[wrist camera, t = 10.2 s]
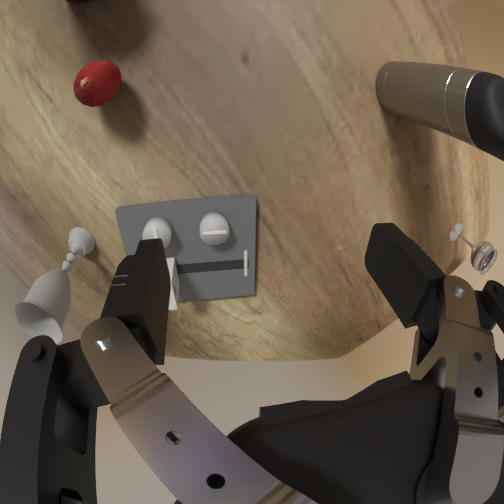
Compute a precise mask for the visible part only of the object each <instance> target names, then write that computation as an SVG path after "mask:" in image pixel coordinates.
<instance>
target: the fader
mask: <svg viewBox="0 0 504 504" xmlns="http://www.w3.org/2000/svg"><path fill="white" fill-rule="evenodd" d="M166 260H167V264H168V269H169V273H170V280H171V292H170V300H169V310H175V309H178V295H179V278H178V273H177V268H176V263H175V258H166Z"/></svg>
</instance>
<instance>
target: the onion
mask: <svg viewBox="0 0 504 504" xmlns="http://www.w3.org/2000/svg"><path fill="white" fill-rule="evenodd" d="M120 85H121V73H120V70H119V68H118V67H117V66H116V65H115V64H113V63H112V62H110V61H105V60H100V61H95V62H91V63H90V64H88V65H86V66H85V67H83V68H82V69H81V71H80V72H79V73H78V74H77V77H76V79H75V82H74V93H75V96H76V98H77V99H78V100H79V101H80V102H81V103H82V104H83V105H87V106H90V107H95V106H100V105H104V104H105V103H107V102H108V101H110V100H111V99H112V98H113V97H114V95H115V94H116V93H117V92H118V90H119V87H120Z"/></svg>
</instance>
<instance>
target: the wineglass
mask: <svg viewBox="0 0 504 504" xmlns="http://www.w3.org/2000/svg"><path fill="white" fill-rule="evenodd" d="M462 230H463V224H462V223H458V224H456V225H455V226H454V227H453V229H452V231H451V233H450V240H451V241H455V240H456V239H458V238H459V236H460V237H461V238H462V239H463V240H464V241H465V242H466V243H467V244H468V245H469V246H470V247H471V248H472V252H471V264H472V266H473V267H474V269H476V270H477V271H479V272H480V274H481V275H483V274H485V273H486V272H487V271H488V270H489V269H490V268H491V267H492V265H493V264H494V262H495V260H496V257H497V250H496V249H494V248H493V246H492V245H491V244H490V243H489V242H486V241H483V242H479V243H477V244H476V245H473V244H472V243H470V242H469V241H468V240H467V239H466V238H464V237H463V236H462V235H461V233H462Z"/></svg>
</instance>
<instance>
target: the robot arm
mask: <svg viewBox="0 0 504 504" xmlns="http://www.w3.org/2000/svg"><path fill="white" fill-rule="evenodd" d="M376 91H377V96H378V98H379V101H380V103H381V104H382V106H383V107H384V108H385V109H386V111H388V112H389V113H390V114H392V115H394V116H397V117H401V118H404V119H407V120H410V121H412V122H415V123H418V124H421V125H424V126H427V127H429V128H432V129H435V130H437V131H440V132H442V133H445V134H447V135H450V136H452V137H454V138H457V139H459V140H461V141H464V142H466V143H468V144H470V145H472V146H474V147H477V148H479V149H480V150H483V151H485V152H487V153H489V154H491V155H493V156H495V157H497V158H499V159H501V160H503V161H504V78H502V77H501V76H498V75H495V74H491V73H487V72H482V71H478V70H473V69H467V68H460V67H454V66H447V65H439V64H429V63H417V62H398V61H394V62H389V63H387V64H385V65H384V66H383V67H382V68H381V69H380V71H379V73H378V75H377V79H376ZM365 266H366V269H367V271H368V272H369V274H370V275H371V277H372V278H373V280H374V281H375V283H376V284H377V285H378V287H379V288H380V290H381V291H382V293H383V294H384V296H385V297H386V299H387V300H388V302H389V304H390V305H391V307H392V308H393V310H394V311H395V313H396V314H397V316H398V318H399V319H400V321H401V322H402V324H403V326H404V327H405V328H409V327H412V326H416V325H417V326H418V329H417V331H416V333H415V339H414V348H413V355H412V362H411V368H410V373H409V374H408V372H407V371H404V372H402V373H399V374H396V375H393V376H390V377H388V378H385V379H381V380H378V381H376V382H375V383H374V384H372V385H370V386H369V387H367V388H365V389H364V390H362V391H361V392H359V393H357V394H356V395H354V396H352V397H350V398H349V399H347V400H342V401H307V400H301V401H296V402H290V403H285V404H280V405H272V406H266V407H260V412H259V417H258V418H255V419H253V420H250V421H249V422H246V423H245V424H243V425H241V426H239V427H238V428H236V429H235V430H234V431H232V432H231V433H230V434H229V435H227V436H225V435H224V434H223V433H222V432H221V431H220V430H219V429H218V428H217V427H216V426H215V425H214V424H213V423H212V422H211V421H210V420H209V419H208V418H207V417H206V416H205V415H204V414H202V412H201V411H200V410H199V409H198V408H197V407H196V406H195V405H194V404H193V403H192V402H191V401H190V400H189V399H188V398H187V397H186V396H185V394H184V393H183V392H182V391H181V390H180V389H179V388H178V387H177V385H176V384H175V383H174V382H173V381H172V380H171V379H170V378H169V377H168V376H167V375H166V374H165V373H163V374H162V373H161V372H160V371H159V369H158V368H157V367H156V366H155V365H164V357H165V343H166V331H167V320H168V310H169V300H170V292H171V280H170V273H169V269H168V264H167V260H166V255H165V250H164V246H163V242H162V239H161V238H155V239H145V240H140V241H139V244H138V247H137V250H136V252H135V255H127V256H126V257H125V258H124V260H123V261H122V262H121V263H120V264H119V265H118V268H117V271H116V273H115V277H114V279H113V281H112V286H111V287H110V290H109V293H108V296H107V299H106V302H105V305H104V308H103V311H102V314H101V317H100V319H97V320H95V321H93V322H92V323H90V324H89V325H88V326H87V327H86V328H85V330H84V331H83V333H82V336H81V339H79V340H76V341H72V342H69V343H65V344H62V345H58V346H57V344H56V343H55V342H54V340H53V339H52V338H51V337H49V336H47V335H39V336H36V337H34V338H32V339H30V340H29V341H28V342H27V343H26V344H25V346H24V347H23V349H22V351H21V353H20V357H19V360H18V363H17V366H16V369H15V373H14V376H13V380H12V384H11V388H10V391H9V396H8V400H7V405H6V410H5V415H4V421H3V426H2V433H1V440H0V504H97V496H96V478H95V441H96V419H97V407H100V406H103V405H108V404H111V407H110V410H111V412H112V414H113V416H114V418H115V419H116V421H117V422H118V424H119V425H120V427H121V429H122V430H123V432H124V433H125V435H126V436H127V437H128V439H129V440H130V442H131V443H132V445H133V446H134V447H135V449H136V450H137V451H138V453H139V454H140V455H141V457H142V458H143V459H144V461H145V462H146V463H147V465H148V466H149V467H150V468H151V469H152V471H153V472H154V473H155V474H156V476H157V477H158V478H159V479H160V480H161V481H162V482H163V484H164V485H165V486H166V487H167V488H168V489H169V490H170V491H171V493H173V495H174V496H175V497H176V498H177V500H176V502H175V503H174V504H504V358H503V360H502V361H501V360H500V358H499V356H498V355H497V353H496V351H495V345H494V338H493V334H492V332H491V330H492V329H493V327H494V326H495V325H496V323H497V324H498V326H499V327H500V329H501V330H502V332H503V333H504V286H503V285H501V284H500V283H498V282H496V281H493V280H489V281H487V283H486V284H485V286H484V288H483V290H482V291H476V290H473V288H472V287H471V286H470V284H469V283H468V282H467V281H465V280H464V279H462V278H460V277H457V276H446V275H445V274H444V273H443V272H442V271H441V270H440V268H439V267H438V266H437V265H436V264H435V263H434V262H433V261H432V260H431V259H430V258H429V256H427V254H426V253H425V252H424V251H423V250H421V248H420V247H419V246H418V245H417V244H416V243H415V242H414V241H413V240H412V239H410V238H408V237H407V236H406V235H405V234H404V233H403V232H402V231H401V230H400V229H399V228H398V227H397V226H396V225H395V224H393V223H376V224H375V225H374V226H373V228H372V231H371V235H370V239H369V243H368V247H367V251H366V254H365Z"/></svg>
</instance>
